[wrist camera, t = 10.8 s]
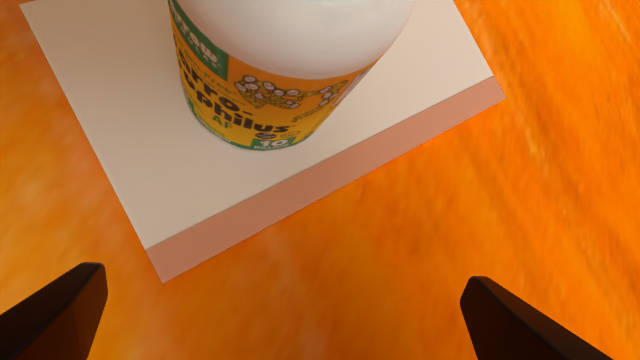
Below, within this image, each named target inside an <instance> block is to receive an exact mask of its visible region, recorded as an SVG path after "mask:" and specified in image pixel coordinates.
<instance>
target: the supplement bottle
mask: <svg viewBox="0 0 640 360" xmlns="http://www.w3.org/2000/svg"><path fill="white" fill-rule="evenodd" d="M167 1H168V7H169V13H170V19H171V26H172V31H173V37H174V42H175V48H176V55H177V60H178V66H179V72H180V78H181V83H182V88H183V92H184V96H185V99H186V102H187V104H188V107H189V109H190V111H191V113H192V115H193V117H194V118H195V120H196V121H197V122H198V123H199V125H200V126H201V127H202V128H203V129H204V130H205V131H207V132H208V133H209V134H210V135H211V136H212V137H214V138H215V139H217V140H218V141H220V142H222V143H223V144H225V145H228V146H230V147H232V148H234V149H237V150H241V151H245V152H252V153H267V152H278V151H283V150H287V149H290V148H292V147H295V146H297V145H299V144H300V143H302V142H304V141H305V140H306V139H308V138H309V137H310V136H311V135H312V134H313V133H314V132H315V131H316V130H317V129H318V128H319V127H320V126H321V125H322V123H323V122H324V121H325V120H326V119H327V118H328V117H329V115H330V114H331V113H332V112H333V111H334V110H335V109H336V107H337V106H338V105H339V104H340V103H341V102H342V100H343V99H344V98H345V97H346V96H347V95H348V94H349V93H350V92H351V91H352V90H353V89H354V88H355V86H356V85H357V84H358V83H359V82H360V81H361V80H362V79H363V78H364V76H365V75H366V74H367V73H368V72H369V71H370V69H371V68H372V67H373V66H374V65H375V64H376V63H377V61H378V60H379V59H380V58H381V57H382V56H383V55H384V54H385V53H386V51H387V50H388V49H389V48H390V47H391V46H392V44H393V43H394V42H395V40H396V39H397V38H398V36H399V35H400V34H401V32H402V30H403V29H404V27H405V25H406V23H407V21H408V19H409V17H410V15H411V12H412V10H413V7H414V4H415V1H416V0H167Z"/></svg>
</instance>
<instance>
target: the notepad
mask: <svg viewBox="0 0 640 360" xmlns="http://www.w3.org/2000/svg"><path fill="white" fill-rule="evenodd" d="M19 6H20V8H21V10H22V12H23V14H24V16H25V18H26V20H27V22H28V24H29V26H30V28H31V30H32V32H33V34H34V36H35V38H36V39H37V41H38V43H39V45H40V47H41V49H42V51H43V53H44V55H45V57H46V59H47V61H48V63H49V65H50V67H51V69H52V70H53V72H54V74H55V76H56V78H57V80H58V82H59V84H60V86H61V88H62V90H63V92H64V94H65V96H66V98H67V100H68V101H69V103H70V105H71V107H72V109H73V111H74V113H75V115H76V117H77V119H78V121H79V123H80V125H81V127H82V129H83V131H84V133H85V134H86V136H87V138H88V140H89V142H90V144H91V146H92V148H93V150H94V152H95V154H96V156H97V158H98V160H99V162H100V164H101V165H102V167H103V169H104V171H105V173H106V175H107V177H108V179H109V181H110V183H111V185H112V187H113V189H114V191H115V193H116V195H117V196H118V198H119V200H120V202H121V204H122V206H123V208H124V210H125V212H126V214H127V216H128V218H129V220H130V222H131V224H132V226H133V228H134V229H135V231H136V233H137V235H138V237H139V239H140V241H141V243H142V245H143V247H144V249H145V251H146V253H147V255H148V257H149V259H150V261H151V263H152V265H153V267H154V268H155V270H156V272H157V274H158V276H159V278H160V280H161V282H162V284H163V283H165V282H167V281H169V280H171V279H173V278H174V277H176V276H178V275H180V274H182V273H184V272H186V271H187V270H189V269H191V268H193V267H195V266H197V265H199V264H200V263H202V262H204V261H206V260H208V259H210V258H211V257H213V256H215V255H217V254H219V253H221V252H223V251H224V250H226V249H228V248H230V247H232V246H234V245H236V244H237V243H239V242H241V241H243V240H245V239H247V238H248V237H250V236H252V235H254V234H256V233H258V232H260V231H261V230H263V229H265V228H267V227H269V226H271V225H273V224H274V223H276V222H278V221H280V220H282V219H284V218H286V217H287V216H289V215H291V214H293V213H295V212H297V211H298V210H300V209H302V208H304V207H306V206H308V205H310V204H311V203H313V202H315V201H317V200H319V199H321V198H323V197H324V196H326V195H328V194H330V193H332V192H334V191H335V190H337V189H339V188H341V187H343V186H345V185H347V184H348V183H350V182H352V181H354V180H356V179H358V178H360V177H361V176H363V175H365V174H367V173H369V172H371V171H372V170H374V169H376V168H378V167H380V166H382V165H384V164H385V163H387V162H389V161H391V160H393V159H395V158H397V157H398V156H400V155H402V154H404V153H406V152H408V151H410V150H411V149H413V148H415V147H417V146H419V145H421V144H422V143H424V142H426V141H428V140H430V139H432V138H434V137H435V136H437V135H439V134H441V133H443V132H445V131H447V130H448V129H450V128H452V127H454V126H456V125H458V124H459V123H461V122H463V121H465V120H467V119H469V118H471V117H472V116H474V115H476V114H478V113H480V112H482V111H484V110H485V109H487V108H489V107H491V106H493V105H495V104H496V103H498V102H500V101H502V100H504V99H506V96H505V94H504V92H503V91H502V89H501V87H500V85H499V83H498V81H497V79H496V78H495V76H494V75H493V73H492V71H491V70H490V68H489V66H488V64H487V62H486V60H485V59H484V57H483V55H482V53H481V51H480V49H479V48H478V46H477V44H476V42H475V40H474V38H473V37H472V35H471V33H470V31H469V29H468V27H467V26H466V24H465V22H464V20H463V18H462V16H461V14H460V13H459V11H458V9H457V7H456V5H455V3H454V2H453V0H416V1H415V4H414V7H413V10H412V12H411V15H410V17H409V19H408V21H407V23H406V25H405V27H404V29H403V30H402V32H401V34H400V35H399V36H398V38H397V39H396V40H395V42H394V43H393V44H392V46H391V47H390V48H389V49H388V50H387V51H386V53H385V54H384V55H383V56H382V57H381V58H380V59H379V60H378V61H377V63H376V64H375V65H374V66H373V67H372V68H371V69H370V71H369V72H368V73H367V74H366V75H365V76H364V78H363V79H362V80H361V81H360V82H359V83H358V84H357V85H356V86H355V88H354V89H353V90H352V91H351V92H350V93H349V94H348V95H347V96H346V97H345V98H344V99H343V100H342V102H341V103H340V104H339V105H338V106H337V107H336V109H335V110H334V111H333V112H332V113H331V114H330V115H329V117H328V118H327V119H326V120H325V121H324V122H323V123H322V125H321V126H320V127H319V128H318V129H317V130H316V131H315V132H314V133H313V134H312V135H311V136H310V137H309V138H308V139H306V140H305V141H304V142H302V143H300V144H299V145H297V146H295V147H292V148H290V149H287V150H283V151H278V152H267V153H252V152H245V151H241V150H237V149H234V148H232V147H230V146H228V145H225V144H223V143H222V142H220V141H218V140H217V139H215V138H214V137H212V136H211V135H210V134H209V133H208V132H207V131H205V130H204V129H203V128H202V127H201V126H200V125H199V123H198V122H197V121H196V120H195V118H194V117H193V115H192V113H191V111H190V109H189V107H188V104H187V102H186V99H185V96H184V92H183V88H182V83H181V78H180V72H179V66H178V60H177V55H176V48H175V42H174V37H173V31H172V26H171V19H170V13H169V7H168V1H167V0H35V1H31V2H27V3H23V4H19Z"/></svg>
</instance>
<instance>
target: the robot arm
mask: <svg viewBox="0 0 640 360" xmlns="http://www.w3.org/2000/svg"><path fill="white" fill-rule="evenodd" d="M107 296H108V288H107V280H106V272H105V267H104V265H103V264H102V263H95V262H83V263H81V264H79V265H77V266H76V267H74V268H73V269H71V270H69V271H68V272H66V273H65V274H63V275H62V276H60V277H58V278H57V279H55V280H54V281H52V282H51V283H49V284H48V285H46V286H44V287H43V288H41V289H40V290H38V291H37V292H35V293H34V294H32V295H30V296H29V297H27V298H26V299H24V300H23V301H21V302H20V303H18V304H16V305H15V306H13V307H12V308H10V309H9V310H7V311H6V312H4V313H2V314H1V315H0V360H87V358H88V355H89V352H90V349H91V346H92V343H93V340H94V337H95V334H96V331H97V328H98V325H99V322H100V319H101V316H102V313H103V310H104V307H105V304H106V301H107ZM460 307H461V311H462V314H463V317H464V320H465V323H466V326H467V329H468V332H469V335H470V338H471V341H472V344H473V347H474V350H475V353H476V356H477V358H478V360H613V359H612V358H610V357H609V356H607V355H606V354H604V353H603V352H601V351H600V350H598V349H596V348H595V347H593V346H592V345H590V344H589V343H587V342H586V341H584V340H583V339H581V338H580V337H578V336H577V335H575V334H574V333H572V332H571V331H569V330H567V329H566V328H564V327H563V326H561V325H560V324H558V323H557V322H555V321H554V320H552V319H551V318H549V317H548V316H546V315H545V314H543V313H542V312H540V311H538V310H537V309H535V308H534V307H532V306H531V305H529V304H528V303H526V302H525V301H523V300H522V299H520V298H519V297H517V296H516V295H514V294H513V293H511V292H510V291H508V290H506V289H505V288H503V287H502V286H500V285H499V284H497V283H496V282H494V281H493V280H491V279H490V278H488V277H485V276H472V277H471V278H470V279H469V280H468V282H467V285H466V287H465V289H464V291H463V294H462V296H461V299H460Z"/></svg>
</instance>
